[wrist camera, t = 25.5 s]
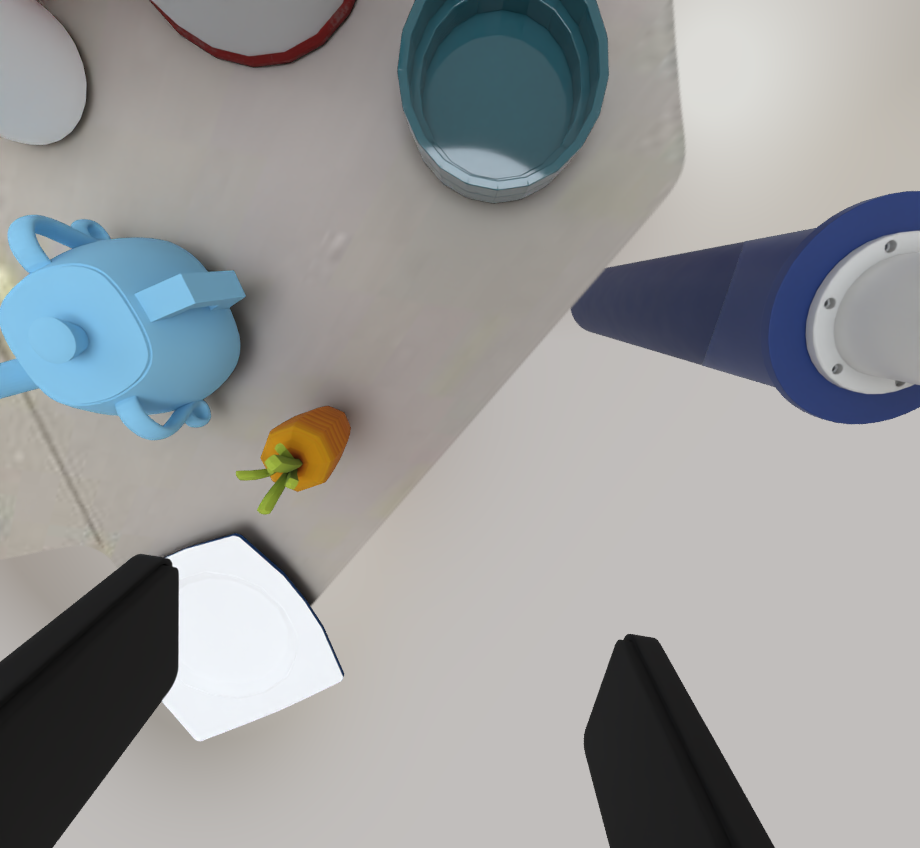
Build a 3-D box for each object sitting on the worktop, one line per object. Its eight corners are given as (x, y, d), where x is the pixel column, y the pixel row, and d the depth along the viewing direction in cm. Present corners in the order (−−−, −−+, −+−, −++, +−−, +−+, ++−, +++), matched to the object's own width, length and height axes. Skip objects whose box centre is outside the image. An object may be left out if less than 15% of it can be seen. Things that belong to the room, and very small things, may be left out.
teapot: (220, 178, 34) (97, 120, 23) (319, 375, 38) (257, 409, 27) (11, 281, 36) (-194, 275, 25) (127, 456, 41) (-4, 518, 29)
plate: (210, 727, 50) (196, 751, 47) (89, 591, 45) (66, 608, 42) (363, 661, 47) (357, 682, 44) (252, 507, 42) (239, 521, 39)
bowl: (608, 17, 31) (635, -33, 26) (562, 219, 35) (577, 207, 30) (423, -24, 30) (415, -84, 26) (396, 185, 34) (385, 167, 29)
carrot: (341, 453, 40) (272, 541, 26) (300, 414, 39) (205, 484, 25) (378, 418, 39) (329, 489, 25) (338, 377, 38) (262, 428, 24)
